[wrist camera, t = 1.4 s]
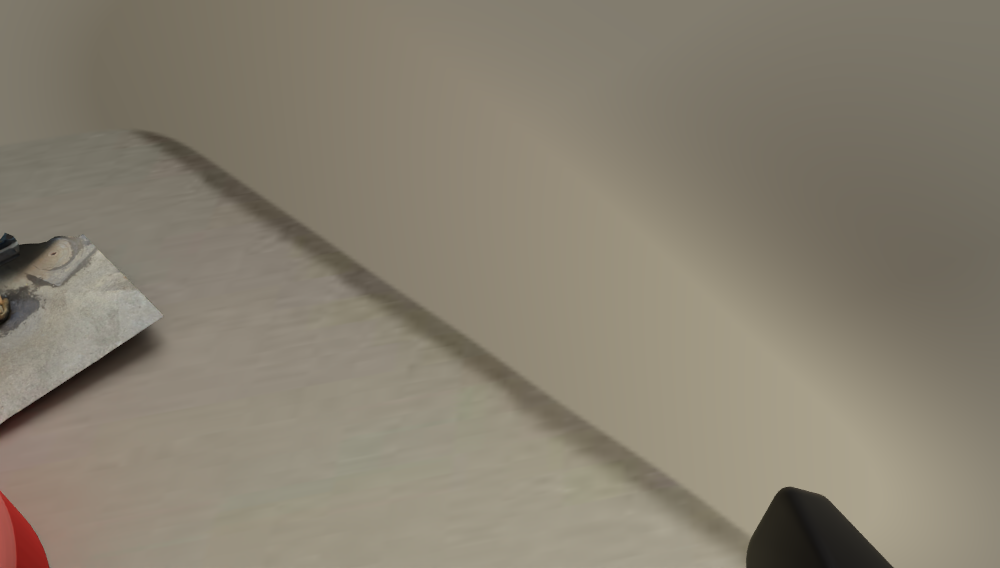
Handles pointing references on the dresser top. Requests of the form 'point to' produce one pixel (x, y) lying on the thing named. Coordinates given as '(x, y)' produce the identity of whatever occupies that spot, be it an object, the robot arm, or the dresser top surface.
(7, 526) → the decorative ornament
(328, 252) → the dresser top surface
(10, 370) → the diorama
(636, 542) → the dresser top surface
